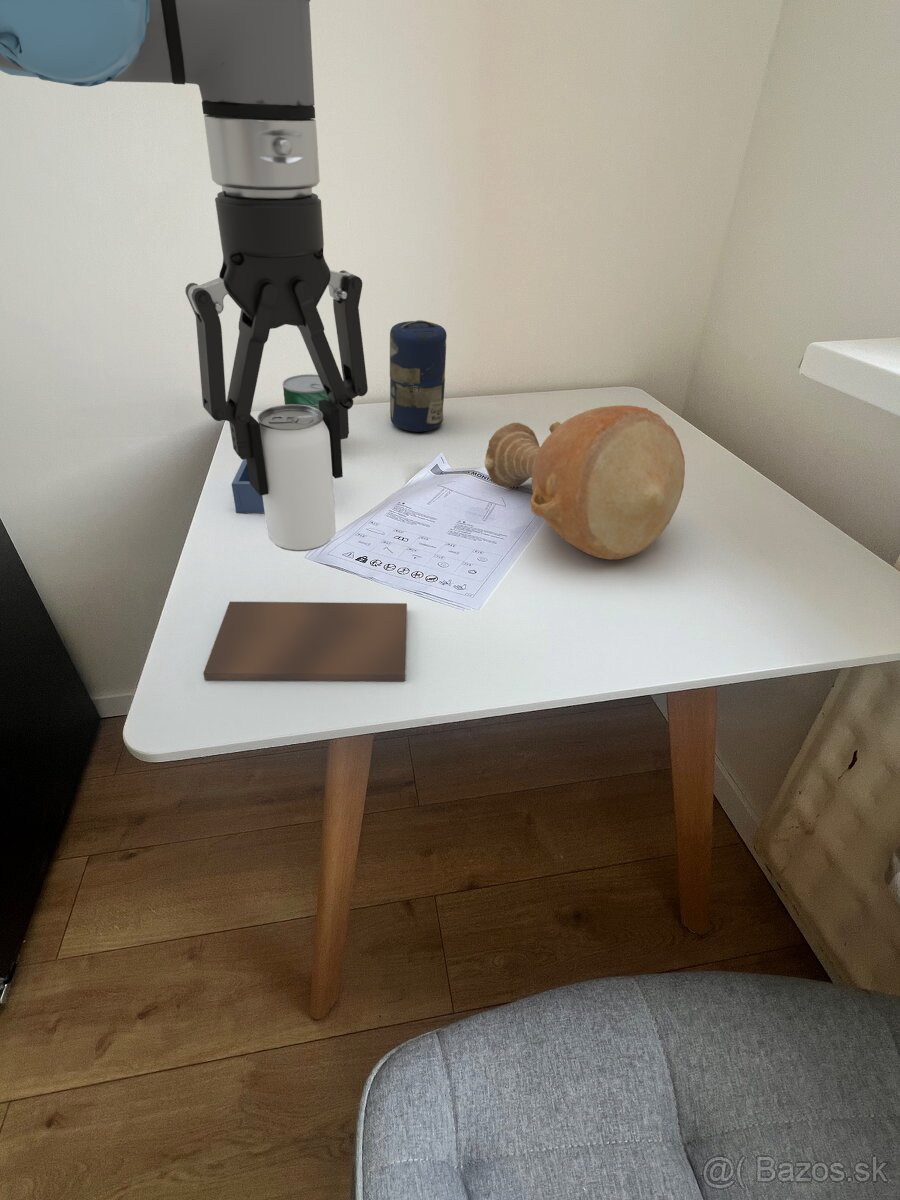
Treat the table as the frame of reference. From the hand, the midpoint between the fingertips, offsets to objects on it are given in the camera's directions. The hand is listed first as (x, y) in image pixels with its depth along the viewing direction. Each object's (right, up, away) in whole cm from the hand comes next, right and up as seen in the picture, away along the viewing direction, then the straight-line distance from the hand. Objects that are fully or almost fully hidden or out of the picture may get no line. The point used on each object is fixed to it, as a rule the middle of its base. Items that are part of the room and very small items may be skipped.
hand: (296, 479), depth 64 cm
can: (0, -5, +4) cm, 6 cm away
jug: (+31, 0, +35) cm, 47 cm away
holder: (-11, +4, +37) cm, 39 cm away
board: (-1, -16, +11) cm, 19 cm away
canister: (+8, +20, +61) cm, 65 cm away
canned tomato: (-9, +14, +51) cm, 54 cm away
